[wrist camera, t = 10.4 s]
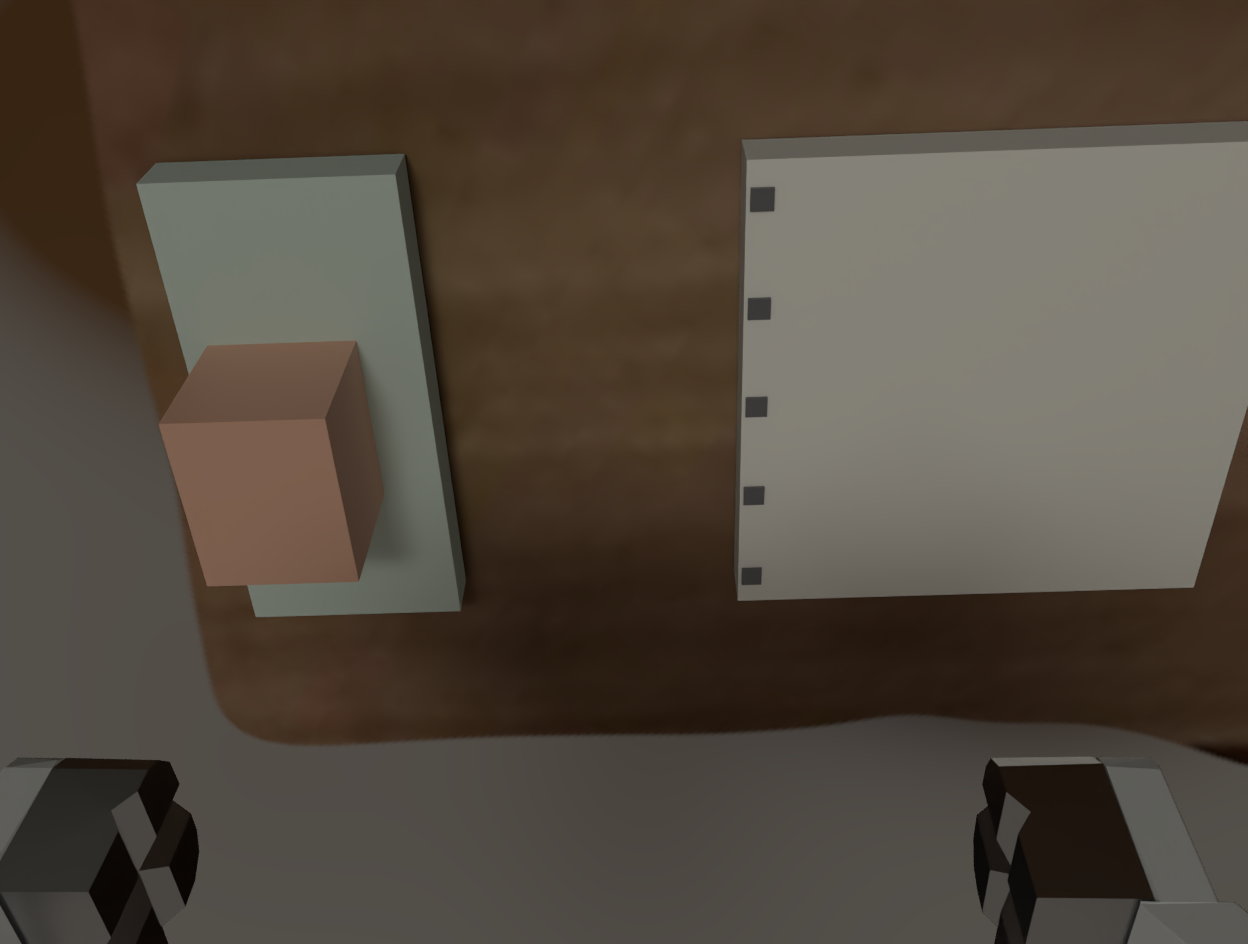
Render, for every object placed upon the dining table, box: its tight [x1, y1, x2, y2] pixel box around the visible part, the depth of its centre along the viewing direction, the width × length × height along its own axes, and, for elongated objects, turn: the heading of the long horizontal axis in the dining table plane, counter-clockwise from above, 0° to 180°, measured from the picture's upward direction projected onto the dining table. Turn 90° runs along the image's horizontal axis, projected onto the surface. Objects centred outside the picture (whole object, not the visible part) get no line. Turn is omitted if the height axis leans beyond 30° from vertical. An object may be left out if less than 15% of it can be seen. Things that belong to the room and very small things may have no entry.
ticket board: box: [734, 121, 1248, 601], centre depth 33 cm, size 14×14×2 cm
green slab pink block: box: [136, 154, 466, 617], centre depth 32 cm, size 6×14×6 cm, turn 2°
